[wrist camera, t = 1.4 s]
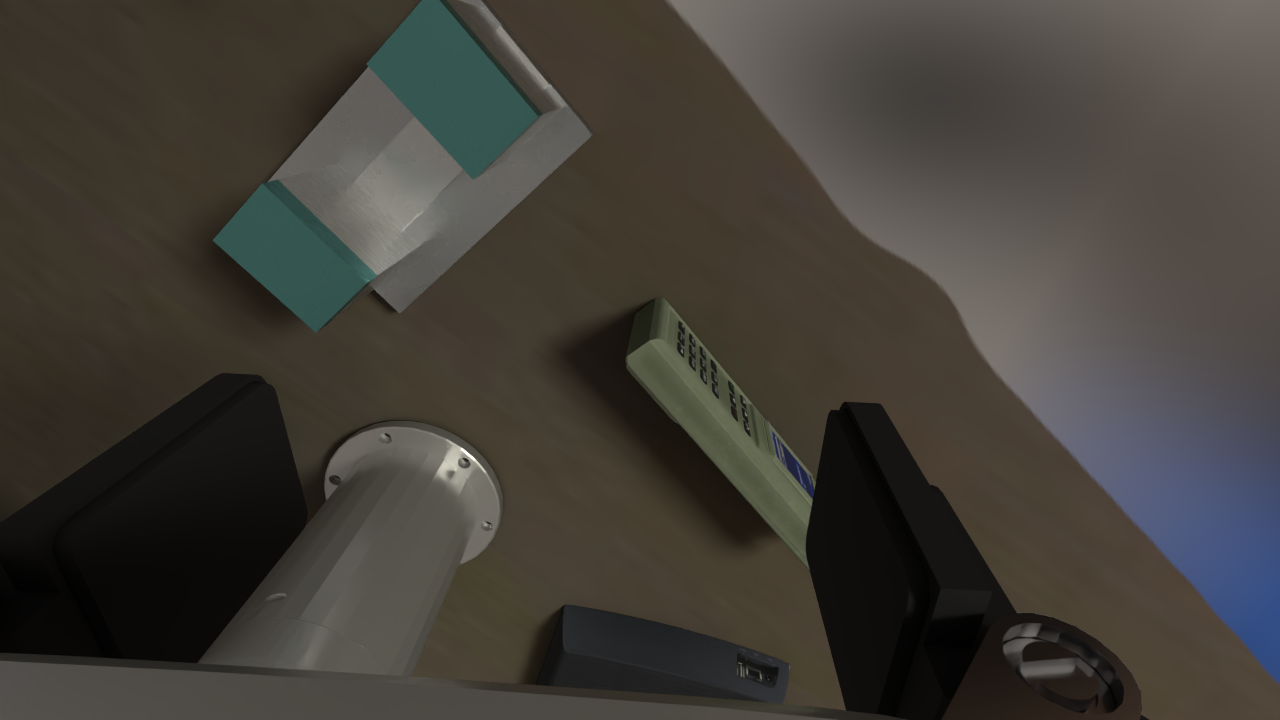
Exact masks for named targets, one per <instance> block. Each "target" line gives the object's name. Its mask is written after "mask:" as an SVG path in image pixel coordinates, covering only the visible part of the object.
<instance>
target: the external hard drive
mask: <svg viewBox="0 0 1280 720" xmlns="http://www.w3.org/2000/svg"><path fill="white" fill-rule="evenodd" d="M789 670H790V665H789V664H786V663H785V662H784V661H782V660H779V659H776V658H774V657H771V656H768V655H766V654H763V653H760V652H757V651H754V650H751V649H748V648H746V647H743V646H740V645H736V644H733V643H730V642H727V641H724V640H720V639H717V638H714V637H710V636H707V635H703V634H700V633H696V632H693V631H689V630H685V629H682V628H678V627H674V626H670V625H666V624H662V623H658V622H654V621H649V620H645V619H641V618H636V617H632V616H627V615H622V614H618V613H613V612H607V611H602V610H597V609H591V608H590V609H589V608H585V607H579V606H573V605H564V607H563V609H562V612H561V615H560V618H559V621H558V624H557V626H556V629H555V632H554V635H553V638H552V640H551V643H550V645H549V649H548V652H547V654H546V658H545V660H544V663H543V666H542V669H541V671H540V674H539V677H538V680H537V683H536V685H543V686H557V687H571V688H585V689H600V690H614V691H628V692H642V693H657V694H671V695H685V696H698V697H709V698H721V699H732V700H744V701H755V702H767V703H779V704H783V702H784V699H785V695H786V690H787V686H788V680H789Z"/></svg>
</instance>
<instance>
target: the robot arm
mask: <svg viewBox="0 0 1280 720" xmlns="http://www.w3.org/2000/svg"><path fill="white" fill-rule="evenodd" d="M324 490H325V497H326V502H325V503H324V504H323V505H322V507H321V508H320V509H319V510H318V512H317V513H316V514H315V515H314V517H313V518H312V519H311V520H310V522H309V523H308V524H307V525H306V527H305V524H306V521H307V507H306V503H305V499H304V496H303V492H302V488H301V484H300V480H299V477H298V473H297V469H296V465H295V462H294V458H293V454H292V450H291V447H290V443H289V439H288V435H287V431H286V428H285V424H284V420H283V416H282V413H281V409H280V405H279V401H278V398H277V394H276V391H275V389H274V388H273V386H272V385H270V384H267V383H266V381H265V380H264V379H263V377H261V376H259V375H251V374H229V373H222V374H219V375H217V376H215V377H214V378H212V379H211V380H209V381H208V382H206V383H205V384H204V385H202V386H201V387H199V388H198V389H196V390H195V391H193V392H192V393H190V394H189V395H187V396H186V397H184V398H183V399H182V400H180V401H179V402H177V403H176V404H174V405H173V406H171V407H170V408H168V409H167V410H165V411H164V412H162V413H161V414H160V415H158V416H157V417H155V418H154V419H152V420H151V421H149V422H148V423H146V424H145V425H143V426H142V427H140V428H139V429H138V430H136V431H135V432H133V433H132V434H130V435H129V436H127V437H126V438H124V439H123V440H121V441H120V442H118V443H117V444H116V445H114V446H113V447H111V448H110V449H108V450H107V451H105V452H104V453H102V454H101V455H99V456H98V457H97V458H95V459H94V460H92V461H91V462H89V463H88V464H86V465H85V466H83V467H82V468H80V469H79V470H77V471H76V472H75V473H73V474H72V475H70V476H69V477H67V478H66V479H64V480H63V481H61V482H60V483H58V484H57V485H55V486H54V487H53V488H51V489H50V490H48V491H47V492H45V493H44V494H42V495H41V496H39V497H38V498H36V499H35V500H33V501H32V502H31V503H29V504H28V505H26V506H25V507H23V508H22V509H20V510H19V511H17V512H16V513H14V514H13V515H11V516H10V517H9V518H7V519H6V520H4V521H3V522H1V523H0V720H1149V719H1147V718H1146V717H1144V716H1142V715H1141V712H1142V698H1141V691H1140V689H1139V687H1138V685H1137V683H1136V680H1135V678H1134V676H1133V674H1132V673H1131V672H1130V670H1129V669H1128V668H1127V667H1126V666H1125V665H1124V663H1123V662H1122V661H1121V660H1120V659H1119V657H1118V656H1117V655H1116V654H1114V653H1113V652H1112V651H1111V650H1110V649H1108V648H1107V647H1106V646H1105V645H1104V644H1102V643H1101V642H1100V641H1099V640H1098V639H1096V638H1094V637H1093V636H1091V635H1089V634H1088V633H1086V632H1084V631H1082V630H1081V629H1079V628H1077V627H1076V626H1073V625H1071V624H1068V623H1066V622H1064V621H1061V620H1059V619H1056V618H1054V617H1049V616H1045V615H1040V614H1035V613H1017V612H1016V611H1015V609H1014V608H1013V606H1012V604H1011V603H1010V601H1009V599H1008V598H1007V596H1006V595H1005V593H1004V591H1003V590H1002V588H1001V586H1000V585H999V583H998V582H997V580H996V578H995V577H994V575H993V574H992V572H991V570H990V569H989V567H988V565H987V564H986V562H985V561H984V559H983V557H982V556H981V554H980V552H979V551H978V549H977V548H976V546H975V544H974V543H973V541H972V539H971V538H970V536H969V535H968V533H967V531H966V530H965V528H964V527H963V525H962V523H961V522H960V520H959V518H958V517H957V515H956V514H955V512H954V510H953V509H952V507H951V505H950V504H949V502H948V501H947V499H946V497H945V496H944V494H943V493H942V492H941V491H940V489H939V488H938V487H936V486H933V485H929V483H928V482H927V480H926V478H925V477H924V475H923V473H922V472H921V470H920V468H919V467H918V465H917V463H916V462H915V460H914V458H913V457H912V455H911V453H910V451H909V450H908V448H907V446H906V445H905V443H904V441H903V440H902V438H901V436H900V435H899V433H898V431H897V430H896V428H895V426H894V425H893V423H892V421H891V420H890V418H889V416H888V415H887V413H886V411H885V410H884V408H883V406H882V405H881V404H878V403H859V402H844V403H843V404H842V405H841V407H840V410H831V411H830V412H829V414H828V418H827V424H826V429H825V435H824V440H823V446H822V451H821V457H820V462H819V468H818V473H817V479H816V485H815V490H814V496H813V501H812V507H811V512H810V518H809V523H808V529H807V534H806V557H807V562H808V566H809V569H810V573H811V577H812V581H813V585H814V589H815V592H816V596H817V600H818V604H819V608H820V612H821V615H822V619H823V623H824V627H825V631H826V634H827V638H828V642H829V646H830V650H831V654H832V657H833V661H834V665H835V669H836V673H837V677H838V680H839V684H840V688H841V692H842V696H843V699H844V703H845V707H846V711H845V710H837V709H830V708H822V707H812V706H801V705H790V704H779V703H767V702H755V701H744V700H732V699H721V698H709V697H698V696H685V695H671V694H657V693H642V692H628V691H614V690H600V689H585V688H571V687H557V686H543V685H529V684H514V683H500V682H485V681H470V680H455V679H439V678H424V677H411V676H412V674H413V671H414V669H415V667H416V664H417V662H418V660H419V657H420V655H421V653H422V650H423V648H424V646H425V643H426V641H427V639H428V636H429V634H430V632H431V629H432V627H433V625H434V622H435V620H436V618H437V615H438V613H439V611H440V608H441V606H442V604H443V601H444V599H445V597H446V594H447V592H448V590H449V587H450V585H451V583H452V580H453V578H454V576H455V573H456V571H457V569H458V566H459V565H460V564H463V563H466V562H468V561H469V560H471V559H473V558H475V557H476V556H478V555H479V554H480V553H481V552H482V551H483V550H485V549H486V548H487V546H488V545H489V544H490V542H491V541H492V539H493V538H494V536H495V534H496V531H497V529H498V527H499V524H500V520H501V516H502V513H503V497H502V493H501V488H500V484H499V482H498V480H497V478H496V476H495V473H494V471H493V470H492V468H491V467H490V466H489V464H488V463H487V461H486V460H485V459H484V458H483V457H482V456H481V455H480V454H479V453H478V452H477V451H476V450H475V449H474V448H473V447H472V446H471V445H469V444H468V443H466V442H465V441H464V440H462V439H461V438H459V437H458V436H456V435H454V434H452V433H450V432H448V431H446V430H444V429H441V428H438V427H435V426H432V425H429V424H426V423H419V422H413V421H388V422H382V423H377V424H373V425H371V426H368V427H366V428H363V429H361V430H359V431H358V432H356V433H355V434H353V435H352V436H350V437H349V438H348V439H347V440H346V441H345V442H344V443H343V444H342V445H341V446H340V447H339V448H338V449H337V451H336V452H335V454H334V455H333V456H332V458H331V459H330V461H329V464H328V467H327V469H326V472H325V480H324ZM304 527H305V528H304Z"/></svg>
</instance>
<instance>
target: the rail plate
mask: <svg viewBox="0 0 1280 720" xmlns="http://www.w3.org/2000/svg"><path fill="white" fill-rule="evenodd" d="M367 65H368V68H367V69H366V70H365V71H364V72H363V74H362V75H361V76H360V77H359V78H358V79H357V80H356V82H355V83H354V84H353V85H352V86H351V87H350V88H349V90H348V91H347V92H346V93H345V94H344V95H343V96H342V98H341V99H340V100H339V101H338V102H337V103H336V104H335V106H334V107H333V108H332V109H331V110H330V111H329V112H328V114H327V115H326V116H325V117H324V118H323V119H322V120H321V122H320V123H319V124H318V125H317V126H316V127H315V128H314V130H313V131H312V132H311V133H310V134H309V135H308V136H307V138H306V139H305V140H304V141H303V142H302V143H301V144H300V146H299V147H298V148H297V149H296V150H295V151H294V152H293V154H292V155H291V156H290V157H289V158H288V159H287V160H286V162H285V163H284V164H283V165H282V166H281V167H280V168H279V170H278V171H277V172H276V173H275V174H274V175H273V176H272V178H271V179H270V180H269V181H268V182H266V183H263V184H261V186H260V187H259V188H258V189H257V190H256V191H255V192H254V194H253V195H252V196H251V197H250V198H249V199H248V200H247V202H246V203H245V204H244V205H243V206H242V207H241V208H240V210H239V211H238V212H237V213H236V214H235V215H234V216H233V218H232V219H231V220H230V221H229V222H228V223H227V225H226V226H225V227H224V228H223V229H222V230H221V231H220V233H219V234H218V235H217V236H216V237H215V238H214V239H213V241H214V242H215V243H216V244H217V245H218V246H219V247H220V248H222V249H223V250H224V251H225V252H226V253H227V254H228V255H229V256H231V257H232V258H233V259H234V260H235V261H236V262H237V263H238V264H240V265H241V266H242V267H243V268H244V269H245V270H246V271H247V272H248V273H250V274H251V275H252V276H253V277H254V278H255V279H256V280H257V281H259V282H260V283H261V284H262V285H263V286H264V287H265V288H266V289H268V290H269V291H270V292H271V293H272V294H273V295H274V296H275V297H277V298H278V299H279V300H280V301H281V302H282V303H283V304H284V305H285V306H287V307H288V308H289V309H290V310H291V311H292V312H293V313H294V314H296V315H297V316H298V317H299V318H300V319H301V320H302V321H303V322H305V323H306V324H307V325H308V326H309V327H310V328H311V329H312V330H314V331H315V332H318V331H319V330H320V329H322V328H323V327H324V326H326V325H327V324H328V323H329V322H330V321H332V320H333V319H334V318H336V317H337V316H339V315H340V314H341V313H343V312H344V311H345V310H347V309H348V308H349V307H351V306H352V305H354V304H355V303H356V302H358V301H359V300H360V299H362V298H363V297H364V296H366V295H367V294H368V293H370V292H371V291H373V290H375V291H376V292H377V293H378V294H379V295H381V296H382V297H383V298H384V299H385V300H386V301H387V302H388V303H389V304H390V305H391V306H392V307H393V308H394V309H395V310H396V311H397V312H398V313H399V314H400V313H401V312H402V311H403V310H404V309H406V308H407V307H408V306H409V305H410V304H411V303H412V302H413V301H414V300H415V299H416V298H418V297H419V296H420V295H421V294H422V293H423V292H424V291H425V290H426V289H427V288H428V287H429V286H430V285H432V284H433V283H434V282H435V281H436V280H437V279H438V278H439V277H440V276H441V275H442V274H443V273H445V272H446V271H447V270H448V269H449V268H450V267H451V266H452V265H453V264H454V263H455V262H456V261H457V260H459V259H460V258H461V257H462V256H463V255H464V254H465V253H466V252H467V251H468V250H469V249H470V248H471V247H473V246H474V245H475V244H476V243H477V242H478V241H479V240H480V239H481V238H482V237H483V236H484V235H486V234H487V233H488V232H489V231H490V230H491V229H492V228H493V227H494V226H495V225H496V224H497V223H498V222H500V221H501V220H502V219H503V218H504V217H505V216H506V215H507V214H508V213H509V212H510V211H511V210H512V209H514V208H515V207H516V206H517V205H518V204H519V203H520V202H521V201H522V200H523V199H524V198H525V197H527V196H528V195H529V194H530V193H531V192H532V191H533V190H534V189H535V188H536V187H537V186H538V185H539V184H541V183H542V182H543V181H544V180H545V179H546V178H547V177H548V176H549V175H550V174H551V173H552V172H553V171H555V170H556V169H557V168H558V167H559V166H560V165H561V164H562V163H563V162H564V161H565V160H566V159H568V158H569V157H570V156H571V155H572V154H573V153H574V152H575V151H576V150H577V149H578V148H579V147H580V146H582V145H583V144H584V143H585V142H586V141H587V140H588V139H589V138H590V137H591V136H592V135H593V134H594V133H595V132H594V131H593V130H592V129H591V128H590V126H589V125H588V124H587V123H586V121H585V120H584V119H583V118H582V117H581V115H580V114H579V113H578V112H577V111H576V109H575V108H574V107H573V106H572V104H571V103H570V102H569V101H568V100H567V98H566V97H565V96H564V95H563V94H562V92H561V91H560V90H559V89H558V88H557V86H556V85H555V84H554V83H553V81H552V80H551V79H550V78H549V77H548V75H547V74H546V73H545V72H544V71H543V69H542V68H541V67H540V66H539V64H538V63H537V62H536V61H535V60H534V58H533V57H532V56H531V55H530V54H529V52H528V51H527V50H526V49H525V47H524V46H523V45H522V44H521V43H520V41H519V40H518V39H517V38H516V37H515V35H514V34H513V33H512V32H511V31H510V29H509V28H508V27H507V26H506V24H505V23H504V22H503V21H502V20H501V18H500V17H499V16H498V15H497V14H496V12H495V11H494V10H493V9H492V7H491V6H490V5H489V4H488V3H487V1H486V0H422V1H421V2H420V3H419V4H418V6H417V7H416V8H415V9H414V10H413V11H412V12H411V14H410V15H409V16H408V17H407V18H406V19H405V20H404V22H403V23H402V24H401V25H400V26H399V27H398V28H397V30H396V31H395V32H394V33H393V34H392V35H391V36H390V38H389V39H388V40H387V41H386V42H385V43H384V45H383V46H382V47H381V48H380V49H379V50H378V51H377V53H376V54H375V55H374V56H373V57H372V58H371V59H370V61H369V62H368V63H367Z"/></svg>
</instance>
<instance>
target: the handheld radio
mask: <svg viewBox="0 0 1280 720" xmlns="http://www.w3.org/2000/svg"><path fill="white" fill-rule="evenodd" d="M625 362H626V368H627V370H628V371H629V372H630V373H631V375H632V376H633V377H634V378H635V379H636V380H637V381H638V382H639V384H640V385H641V386H642V387H643V388H644V389H645V390H646V391H647V393H648V394H649V395H650V396H651V397H652V398H653V399H654V400H655V402H656V403H657V404H658V405H659V406H660V407H661V408H662V409H663V411H664V412H665V413H666V414H667V415H668V416H669V417H670V418H671V419H672V420H673V421H674V422H675V423H679V425H680V426H681V427H682V428H683V429H684V430H685V431H686V432H687V434H688V435H689V436H690V437H691V438H692V439H693V440H694V441H695V443H696V444H697V445H698V446H699V447H700V448H701V449H702V450H703V452H704V453H705V454H706V455H707V456H708V457H709V458H710V459H711V461H712V462H713V463H714V464H715V465H716V466H717V467H718V469H719V470H720V471H721V472H722V473H723V474H724V475H725V476H726V478H727V479H728V480H729V481H730V482H731V483H732V484H733V485H734V487H735V488H736V489H737V490H738V491H739V492H740V493H741V494H742V496H743V497H744V498H745V499H746V500H747V501H748V502H749V503H750V505H751V506H752V507H753V508H754V509H755V510H756V511H757V513H758V514H759V515H760V516H761V517H762V518H763V519H764V520H765V522H766V523H767V524H768V525H769V526H770V527H771V528H772V529H773V531H774V532H775V533H776V534H777V535H778V536H779V537H780V538H781V540H782V541H783V542H784V543H785V544H786V545H787V546H788V548H789V549H790V550H791V551H792V552H793V553H794V554H795V555H796V557H797V558H798V559H799V560H800V561H801V562H802V563H803V564H804V566H805V567H806V568H807V569H808V570H809V571H810V569H809V566H808V562H807V557H806V534H807V529H808V523H809V518H810V512H811V507H812V501H813V496H814V490H815V485H816V481H815V480H814V479H813V477H812V474H811V473H810V472H809V471H808V469H807V468H806V467H805V466H804V465H803V463H802V462H801V461H800V460H799V458H798V457H797V456H796V455H795V454H794V452H793V451H792V450H791V449H790V448H789V446H788V445H787V444H786V443H785V441H784V440H783V439H782V438H781V437H780V435H779V434H778V433H777V432H776V430H775V429H774V428H773V427H772V426H771V424H770V423H769V421H766V420H765V419H764V417H763V416H762V415H761V414H760V412H759V411H758V410H757V409H756V408H755V406H754V405H753V404H752V403H751V402H750V400H749V399H748V398H747V397H746V396H745V394H744V393H743V392H742V391H741V390H740V388H739V387H738V386H737V385H736V384H735V382H734V381H733V380H732V379H731V378H730V376H729V375H728V374H727V373H726V372H725V370H724V369H723V368H722V367H721V366H720V364H719V363H718V362H717V361H716V360H715V358H714V357H713V356H712V355H711V354H710V352H709V351H708V350H707V349H706V348H705V346H704V345H703V344H702V343H701V342H700V340H699V339H698V338H697V337H696V336H695V334H694V333H693V332H692V331H691V330H690V328H689V327H688V326H687V325H686V324H685V322H684V321H683V320H682V319H681V318H680V316H679V315H678V314H677V313H676V312H675V310H674V309H673V308H672V307H671V306H670V304H669V303H668V302H667V301H666V300H665V299H664V298H655V299H654V300H653V301H651V302H650V303H649V304H647V305H646V306H645V307H644V308H642V309H641V310H640V311H638V312H637V313H636V314H635V317H634V322H633V327H632V331H631V336H630V340H629V345H628V349H627V354H626V359H625Z"/></svg>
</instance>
